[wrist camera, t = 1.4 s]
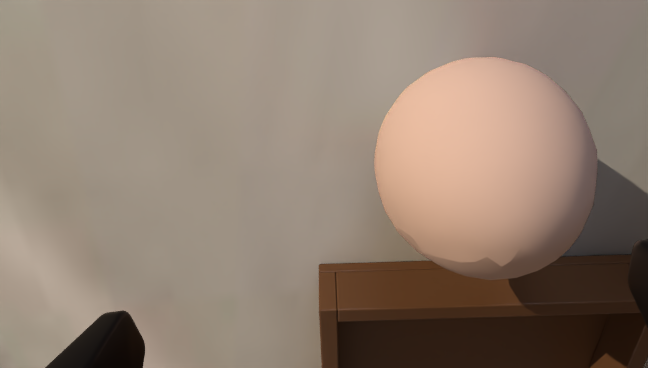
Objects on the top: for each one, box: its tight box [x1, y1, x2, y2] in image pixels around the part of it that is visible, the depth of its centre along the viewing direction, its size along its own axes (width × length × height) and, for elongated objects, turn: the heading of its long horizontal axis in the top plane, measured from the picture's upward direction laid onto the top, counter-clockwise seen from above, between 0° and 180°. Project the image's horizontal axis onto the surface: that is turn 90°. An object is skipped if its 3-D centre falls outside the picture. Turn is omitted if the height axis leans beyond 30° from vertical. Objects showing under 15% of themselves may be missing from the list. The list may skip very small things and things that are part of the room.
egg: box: [374, 57, 597, 280], centre depth 18 cm, size 7×7×8 cm
